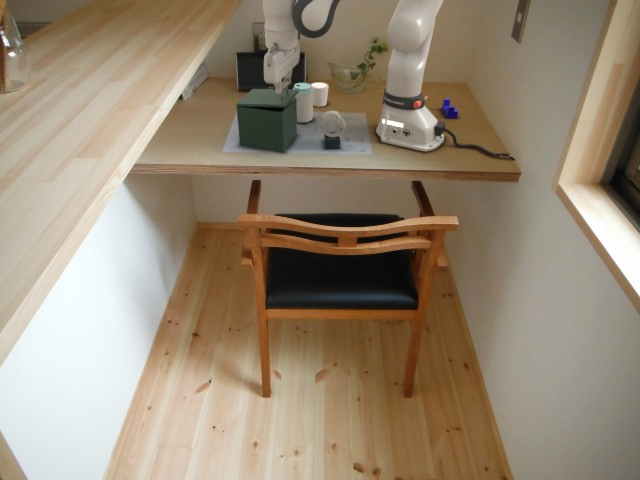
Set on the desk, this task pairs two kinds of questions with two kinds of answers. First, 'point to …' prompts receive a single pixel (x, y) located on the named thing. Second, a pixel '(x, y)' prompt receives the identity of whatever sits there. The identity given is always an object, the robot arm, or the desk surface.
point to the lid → (268, 97)
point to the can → (304, 102)
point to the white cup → (320, 93)
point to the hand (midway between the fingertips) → (283, 88)
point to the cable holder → (449, 109)
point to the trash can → (268, 126)
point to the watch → (332, 137)
